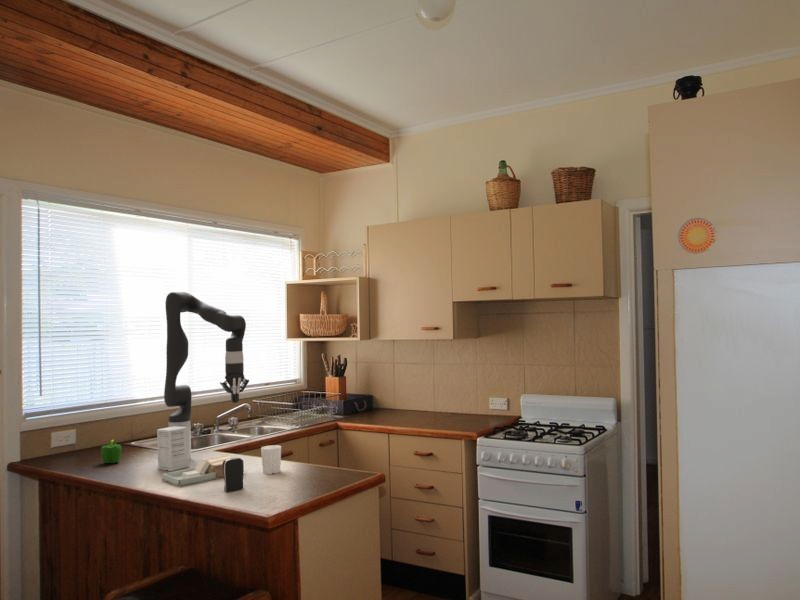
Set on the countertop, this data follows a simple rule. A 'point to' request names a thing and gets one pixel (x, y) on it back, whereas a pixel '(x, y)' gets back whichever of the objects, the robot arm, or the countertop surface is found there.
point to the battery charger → (233, 474)
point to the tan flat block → (217, 466)
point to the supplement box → (173, 448)
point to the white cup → (271, 458)
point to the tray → (179, 481)
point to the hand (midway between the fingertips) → (235, 402)
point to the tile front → (190, 474)
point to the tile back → (202, 466)
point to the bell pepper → (111, 452)
